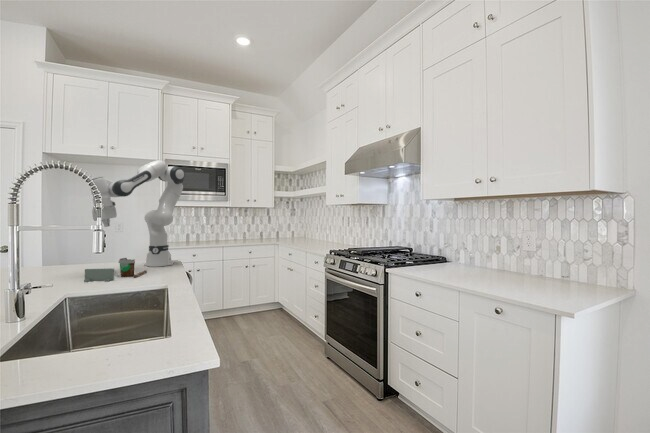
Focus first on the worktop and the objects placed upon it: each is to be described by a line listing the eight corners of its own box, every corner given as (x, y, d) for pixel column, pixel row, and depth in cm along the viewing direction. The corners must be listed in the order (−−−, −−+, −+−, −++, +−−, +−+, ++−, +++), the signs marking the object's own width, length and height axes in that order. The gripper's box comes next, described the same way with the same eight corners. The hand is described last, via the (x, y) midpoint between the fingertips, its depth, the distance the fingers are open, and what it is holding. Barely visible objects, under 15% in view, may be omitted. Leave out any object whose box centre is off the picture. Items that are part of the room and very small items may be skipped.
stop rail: (144, 272, 198) (144, 270, 198) (146, 272, 198) (146, 270, 198) (133, 278, 182) (133, 275, 182) (135, 278, 182) (135, 275, 182)
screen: (86, 280, 174) (86, 268, 174) (114, 280, 177) (114, 268, 176) (82, 282, 171) (82, 270, 171) (110, 281, 173) (110, 269, 173)
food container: (114, 275, 189) (114, 258, 189) (126, 273, 194) (126, 257, 194) (123, 278, 182) (123, 260, 182) (135, 276, 187) (135, 259, 187)
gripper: (98, 204, 183) (103, 228, 184) (116, 202, 203) (120, 224, 204) (87, 205, 182) (91, 229, 183) (106, 204, 202) (110, 225, 204)
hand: (107, 226), depth 194 cm, fingers closed
